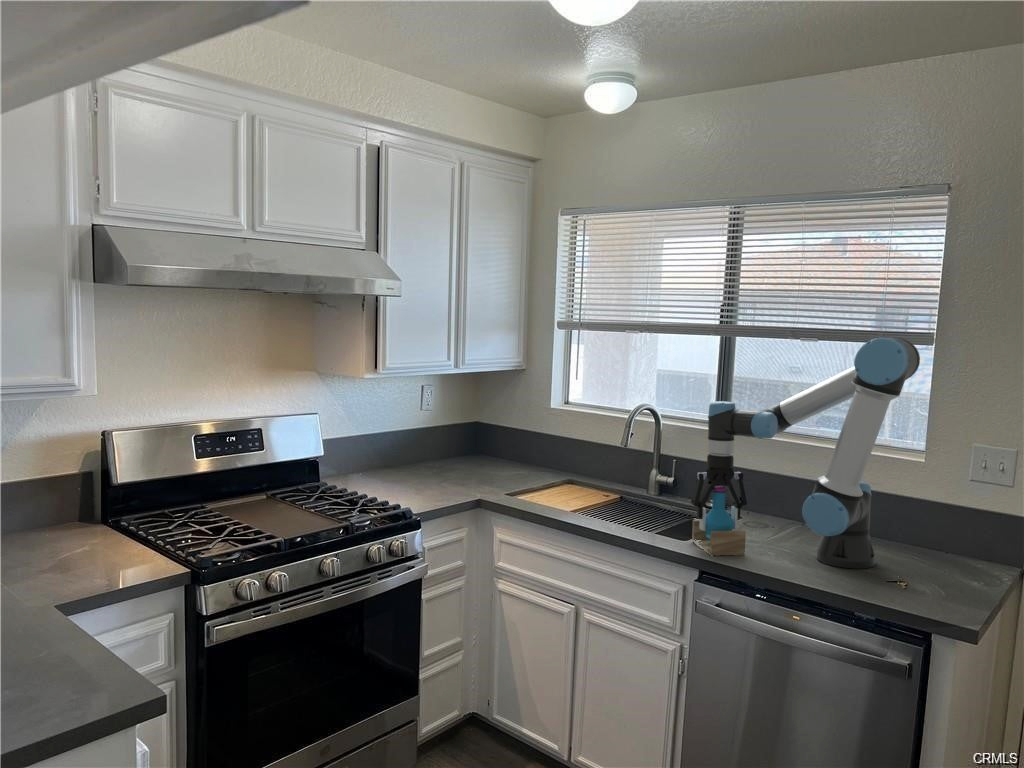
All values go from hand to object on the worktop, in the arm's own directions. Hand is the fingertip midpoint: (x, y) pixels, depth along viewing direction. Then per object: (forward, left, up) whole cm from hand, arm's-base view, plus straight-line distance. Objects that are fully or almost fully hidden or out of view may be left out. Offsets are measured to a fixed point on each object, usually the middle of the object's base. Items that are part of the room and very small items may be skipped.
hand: (718, 529), depth 224 cm
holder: (0, 0, -6) cm, 6 cm away
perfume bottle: (0, 0, -3) cm, 3 cm away
